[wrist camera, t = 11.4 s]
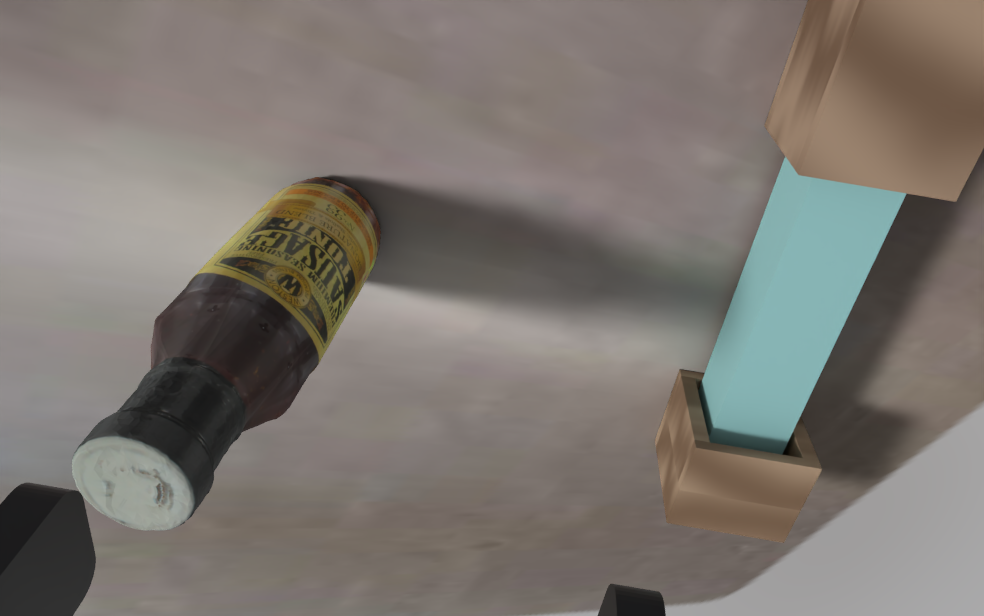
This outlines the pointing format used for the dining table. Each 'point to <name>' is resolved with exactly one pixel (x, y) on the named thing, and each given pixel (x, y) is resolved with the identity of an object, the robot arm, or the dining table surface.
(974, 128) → the wooden block
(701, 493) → the socket
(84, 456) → the sauce bottle
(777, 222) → the long turquoise beam
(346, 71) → the dining table surface
